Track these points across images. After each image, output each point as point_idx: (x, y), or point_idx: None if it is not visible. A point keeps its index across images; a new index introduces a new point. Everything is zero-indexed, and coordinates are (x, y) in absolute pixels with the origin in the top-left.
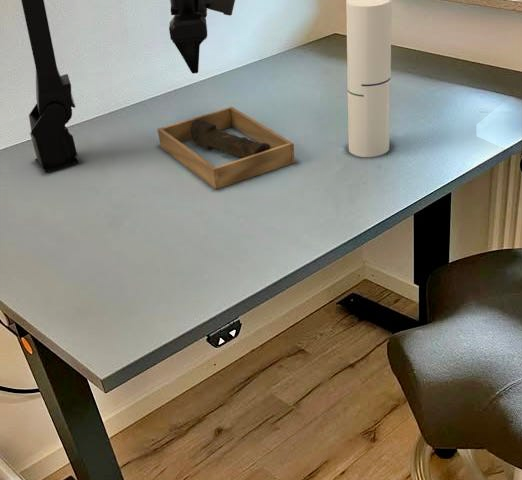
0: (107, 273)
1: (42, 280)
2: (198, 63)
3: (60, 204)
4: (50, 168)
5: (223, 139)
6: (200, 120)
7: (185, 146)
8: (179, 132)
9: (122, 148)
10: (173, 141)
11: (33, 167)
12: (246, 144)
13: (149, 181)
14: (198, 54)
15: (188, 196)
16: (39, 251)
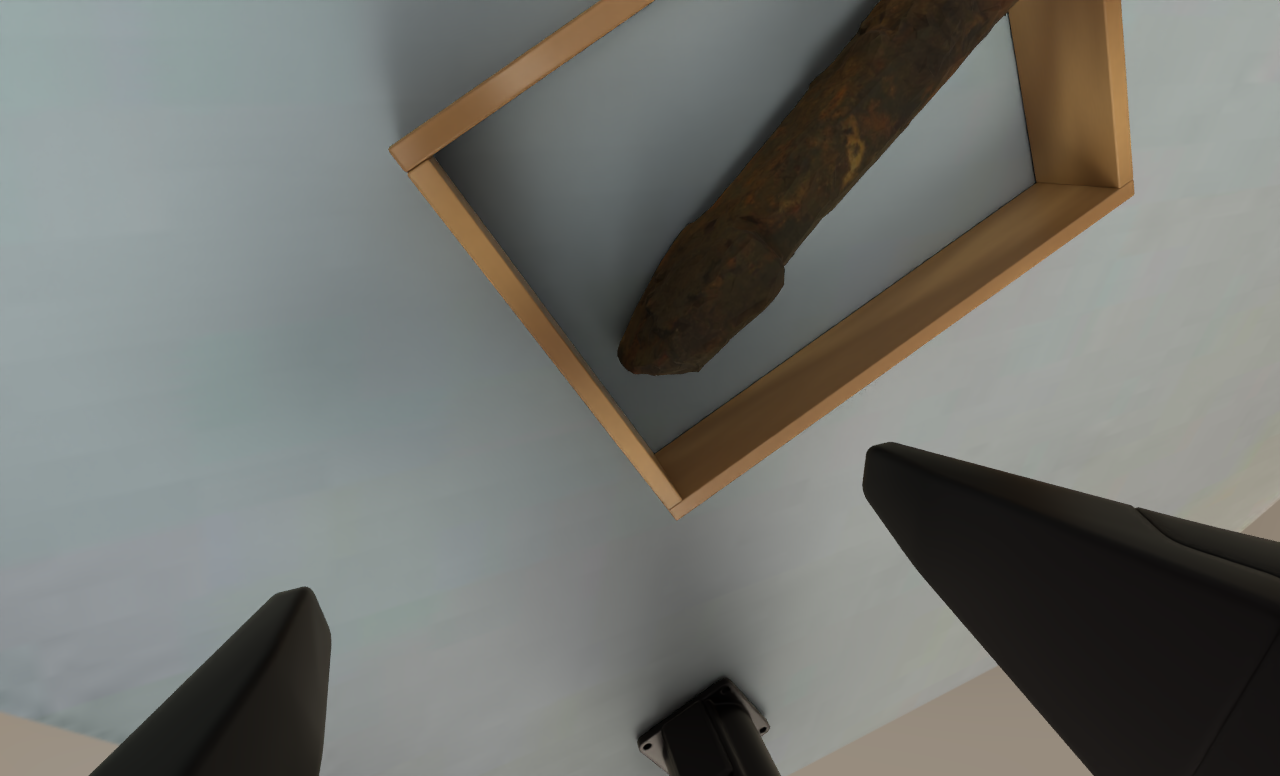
0: (1254, 404)
1: (1204, 515)
2: (1004, 472)
3: (943, 612)
4: (760, 724)
5: (861, 173)
6: (686, 330)
7: (894, 352)
8: (628, 423)
9: (632, 600)
10: (817, 417)
11: None
12: (979, 28)
13: (906, 433)
14: (1160, 521)
15: (1047, 283)
16: None
